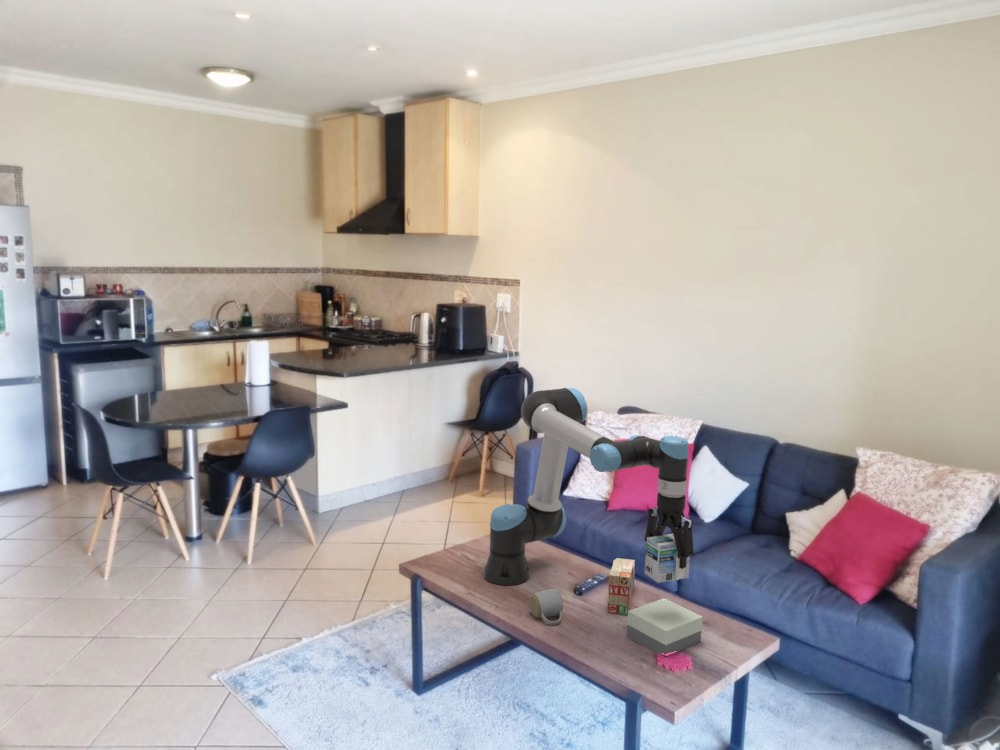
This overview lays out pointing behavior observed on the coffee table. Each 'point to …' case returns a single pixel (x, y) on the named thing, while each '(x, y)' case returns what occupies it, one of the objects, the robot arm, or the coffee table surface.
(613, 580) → the stack of blocks
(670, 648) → the tower base slab
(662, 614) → the tower top slab
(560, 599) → the ceramic mug
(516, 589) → the coffee table surface
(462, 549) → the coffee table surface
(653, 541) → the light bulb box
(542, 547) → the coffee table surface
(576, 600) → the coffee table surface
